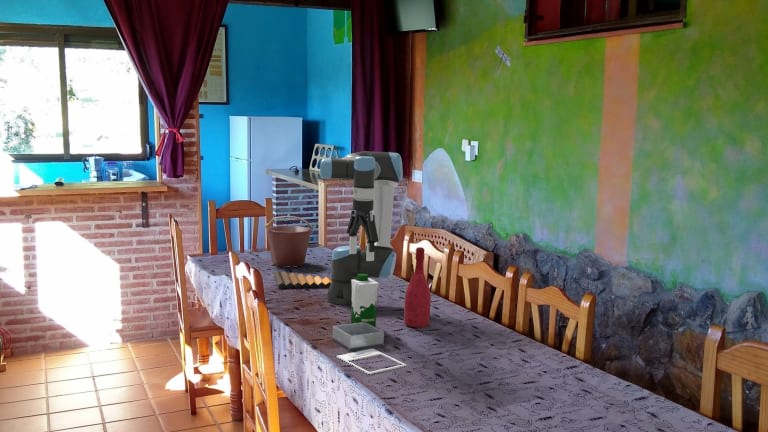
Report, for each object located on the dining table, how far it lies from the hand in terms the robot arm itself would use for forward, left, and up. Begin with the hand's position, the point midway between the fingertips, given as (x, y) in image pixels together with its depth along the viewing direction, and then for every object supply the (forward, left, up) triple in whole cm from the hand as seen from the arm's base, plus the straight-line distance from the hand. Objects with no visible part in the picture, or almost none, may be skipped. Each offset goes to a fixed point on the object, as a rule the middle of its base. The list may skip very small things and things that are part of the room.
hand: (361, 257), depth 257 cm
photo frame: (+13, +33, -28) cm, 45 cm away
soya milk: (-2, +1, -27) cm, 27 cm away
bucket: (-21, -113, -27) cm, 118 cm away
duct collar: (+8, +15, -27) cm, 32 cm away
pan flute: (-11, -74, -28) cm, 80 cm away
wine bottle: (-23, +5, -27) cm, 36 cm away
